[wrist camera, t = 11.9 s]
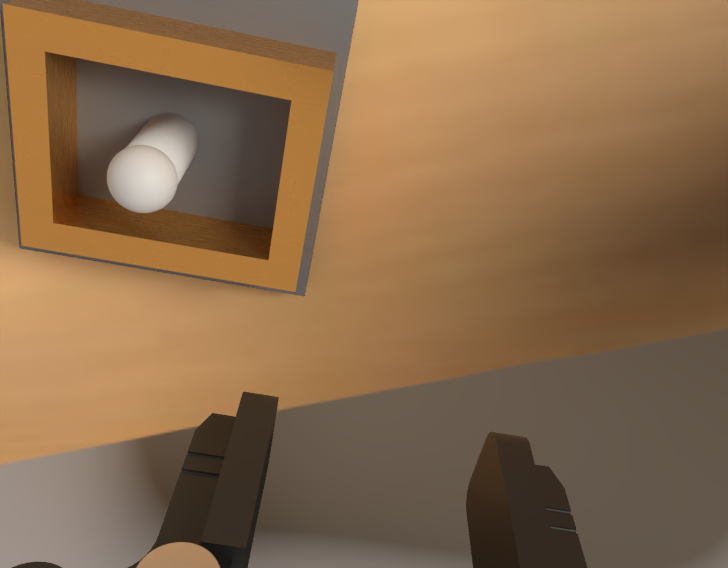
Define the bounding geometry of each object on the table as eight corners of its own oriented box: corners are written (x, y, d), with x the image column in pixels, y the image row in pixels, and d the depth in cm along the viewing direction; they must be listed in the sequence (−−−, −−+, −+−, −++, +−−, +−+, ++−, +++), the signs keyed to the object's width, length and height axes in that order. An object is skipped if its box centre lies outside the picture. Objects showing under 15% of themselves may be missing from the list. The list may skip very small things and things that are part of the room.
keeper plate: (377, -109, 26) (380, -102, 20) (306, 280, 35) (294, 368, 29) (3, -196, 24) (-120, -218, 18) (32, 233, 34) (-43, 315, 28)
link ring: (336, 52, 28) (333, 71, 25) (300, 259, 33) (295, 291, 30) (37, -10, 26) (2, 3, 24) (49, 215, 32) (21, 245, 29)
